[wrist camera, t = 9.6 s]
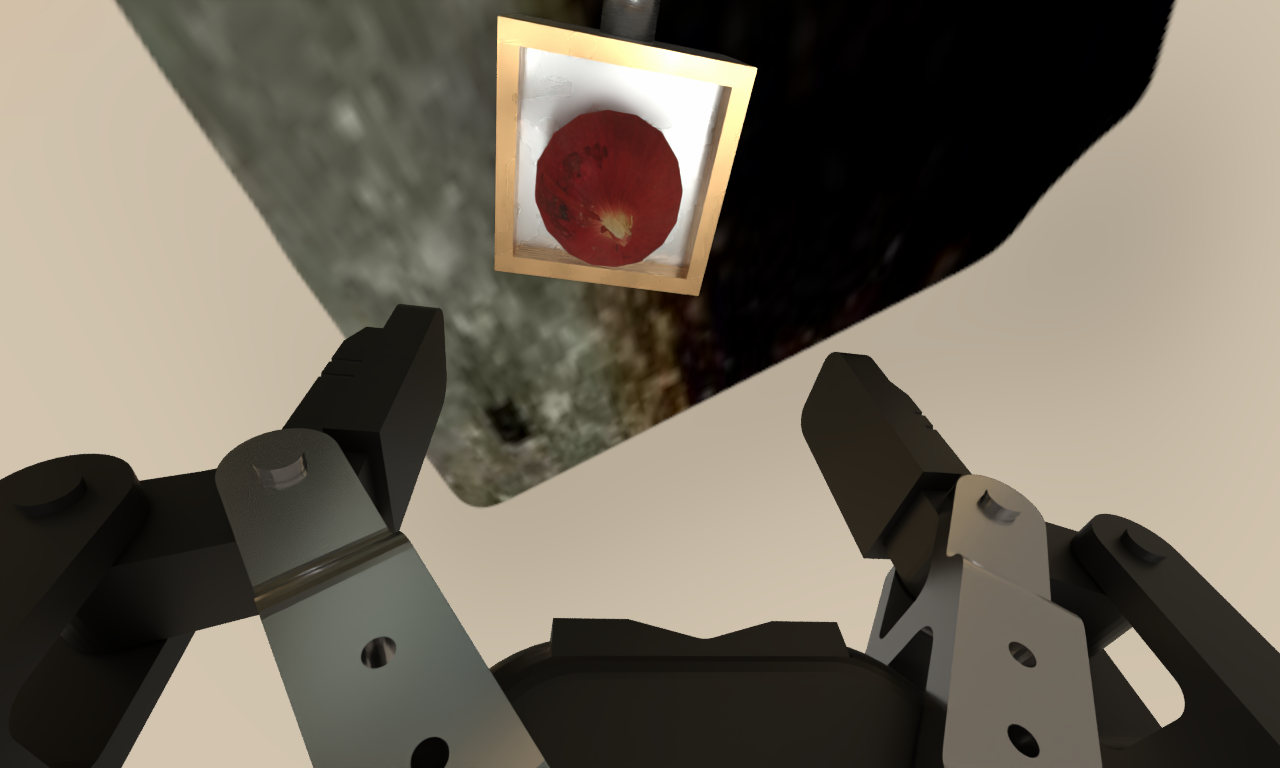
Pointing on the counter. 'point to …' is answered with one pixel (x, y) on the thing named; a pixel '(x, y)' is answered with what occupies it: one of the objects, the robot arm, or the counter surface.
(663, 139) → the onion
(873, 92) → the counter surface
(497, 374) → the counter surface
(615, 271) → the wooden tray
